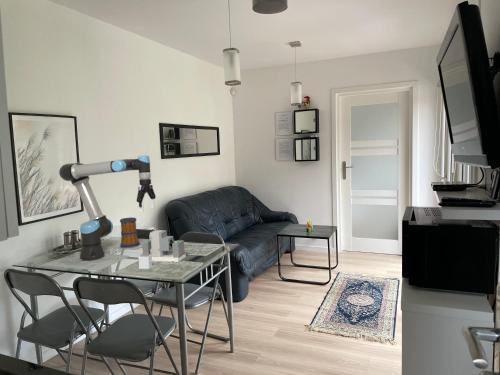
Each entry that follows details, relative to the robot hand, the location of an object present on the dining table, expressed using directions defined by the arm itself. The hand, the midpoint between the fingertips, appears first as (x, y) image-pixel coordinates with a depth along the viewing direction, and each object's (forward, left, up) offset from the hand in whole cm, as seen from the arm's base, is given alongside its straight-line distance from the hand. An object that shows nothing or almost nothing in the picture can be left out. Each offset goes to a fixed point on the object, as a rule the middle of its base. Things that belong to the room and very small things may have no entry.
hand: (147, 210), depth 257 cm
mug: (-25, +16, -29) cm, 41 cm away
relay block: (+16, -32, -29) cm, 46 cm away
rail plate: (+18, -13, -29) cm, 36 cm away
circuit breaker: (+18, -13, -27) cm, 35 cm away
